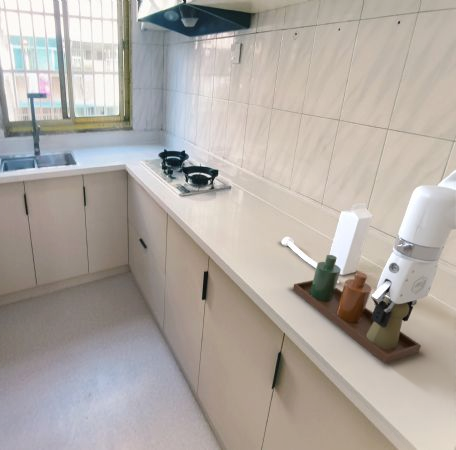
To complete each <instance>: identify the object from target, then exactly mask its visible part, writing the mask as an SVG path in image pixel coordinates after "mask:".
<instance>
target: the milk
mask: <svg viewBox="0 0 456 450" xmlns="http://www.w3.org/2000/svg"><path fill="white" fill-rule="evenodd" d="M373 217H374V216H373V215H372V213H371V212H370V211H369V210H368V209H367V202H363V203H356V204H353V205H352V206H351V209H348V210H342V211H341V212H340V215H339V219H338V223H337V226H336V230H335V233H334V237H333V241H332V244H331V248H330V250H329V251H330V252H329V255H333V256H335V257H336V258H337V259H336V263H335V265H337V266H338V267H339V268H340V269H341V271H340V274H339V275H341V276H345V275H348V274H352V273H356V272H357V268H358V265H359V262H360V259H361V256H362V253H363V249H364V246H365V242H366V240H367V237H368V233H369V230H370V227H371V224H372V221H373Z"/></svg>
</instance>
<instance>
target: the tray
mask: <svg viewBox="0 0 456 450" xmlns="http://www.w3.org/2000/svg"><path fill="white" fill-rule="evenodd" d="M312 283H313V279H311V280H307V281H303V282H298V283H293V287H292V291H293V292H294V293H295V294H297V296H299V297H300V298H302V299H303V300H304V301H306V302H307V303H308V304H309V305H310V306H312V307H313V308H314V309H315V310H317V311H318V312H319V313H320V314H322V315H323V316H324V317H326V319H328V320H329V321H330V322H332V323H333V324H334V325H335V326H337V327H338V328H339V329H340V330H342V331H343V332H344V333H345V334H347V335H348V336H349V337H351V339H353V340H354V341H355V342H357V343H358V344H359V345H361V346H362V347H363V349H366V350H367V351H368V352H370V353H371V354H372V355H373V356H374V357H375V358H377V360H379V361H380V362H382V363H383V364H384V365H387V364H390V363H393V362H395V361H396V362H397V361H398V360H401V359H404V358H408V357H410V356H413V355H416V354H418V353H419V352H420V350H421V348H422V345H421V344H420V343H418V342H417V341H416V340H414V339H412V338H411V337H409V336H407V334H406V333H403V332H402V331H401V330H400V334H399V339H398V344H397V348H396V349H394V350H386V349H382V348H380V347H378V346H376V345H375V344H374V343H372V342H371V341H370V340H369V339H368V338H367V336H366V334H367V332H368V331H369V329H370V327H371V326H372V324H373V322H374V321H373V320H372V319H371V317H372V314H373V311H371V310H370V309H369V308H367V307H365V310H364V313H363V316H362V319H361V321H360V322H359V323H350V322H347V321H344V320H342V319H341V318H340V317H339V316H337V314H336V310H337V307H338V304H339V301H340V297H341V294H342V291H343V290H341V289H340V288H337V287H336V288H335V291H334V295H333V298H332V300H331V301H328V302H324V301H320V300H317V299H315V298H314V297H312V296H311V294H310V290H311V287H312Z"/></svg>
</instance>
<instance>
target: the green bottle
mask: <svg viewBox="0 0 456 450" xmlns="http://www.w3.org/2000/svg"><path fill="white" fill-rule="evenodd" d="M336 259H337V258H336V257H335V256H333V255H330V254H326V257H325V260H324V261H319V262H317V263H318V264H317V267H316V268H315V271H314V276H313V279H312V280H313V283H312V287H311V290H310V294H311V296H312V297H314V298H315V299H317V300H320V301H324V302H328V301H331V300H332V298H333V295H334V291H335V288H337V281H338V280H339V278H340V275H341V274H340V271H341V269H340V268H339V267H338V266H337V265H335V263H336Z"/></svg>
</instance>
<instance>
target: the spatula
mask: <svg viewBox="0 0 456 450" xmlns="http://www.w3.org/2000/svg"><path fill="white" fill-rule="evenodd" d="M281 245H283V246H284V247H289V248H290V249H291V250H292V251H293V252H294V253H295V254H297V255H298V256H299V257H300V258H301V259H302V260H303V261H305V262H306V263H307V264H309V265H310V266H312V267H313V268H314V269H316V267H317V264H318V263H319V262H317V261H315V260H314V259H312V258H311V257H309V256H308V255H307V254H306V253H305V252H304V251H302V250H301V249H300V247H298V246H297V245H296V244H295V243H294V239H293V238H292V237H290V236H286V237H283V239H282V240H281ZM337 284H340V280H339V279H338V281H337ZM337 284H336V285H337Z"/></svg>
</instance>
